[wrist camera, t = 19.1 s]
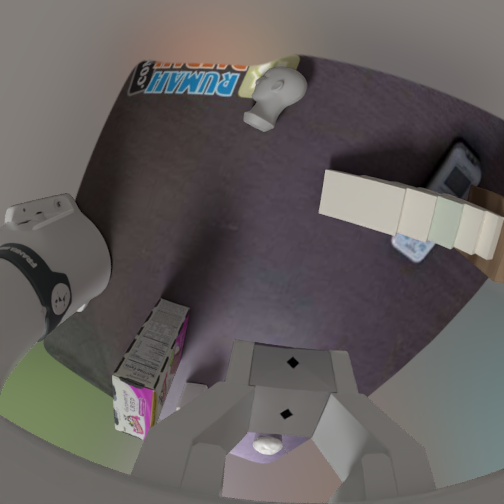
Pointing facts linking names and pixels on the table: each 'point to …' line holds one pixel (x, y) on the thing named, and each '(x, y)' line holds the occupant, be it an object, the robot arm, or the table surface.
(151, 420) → the candy bar box
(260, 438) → the milkshake
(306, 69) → the table surface
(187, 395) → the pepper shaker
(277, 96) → the smooth white sculpture
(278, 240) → the table surface
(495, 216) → the domino
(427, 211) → the domino
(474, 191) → the end block
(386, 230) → the domino
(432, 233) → the domino
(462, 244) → the domino
